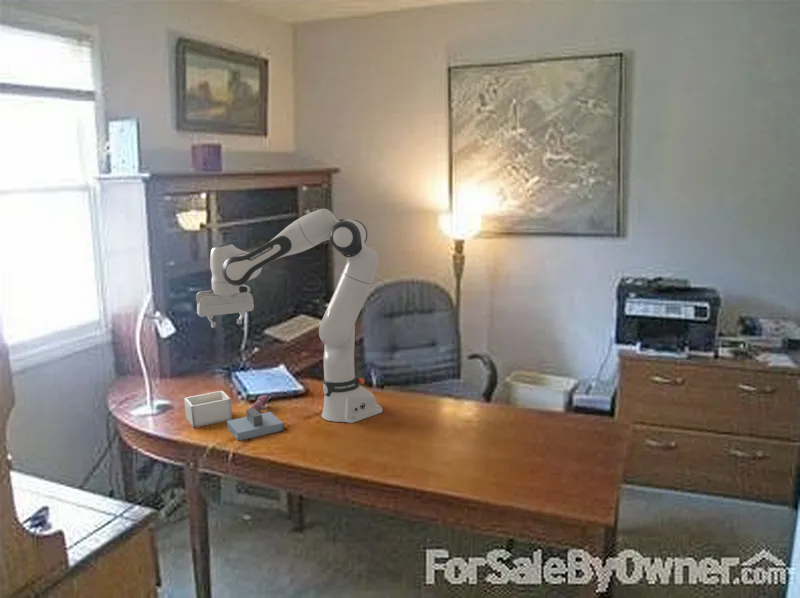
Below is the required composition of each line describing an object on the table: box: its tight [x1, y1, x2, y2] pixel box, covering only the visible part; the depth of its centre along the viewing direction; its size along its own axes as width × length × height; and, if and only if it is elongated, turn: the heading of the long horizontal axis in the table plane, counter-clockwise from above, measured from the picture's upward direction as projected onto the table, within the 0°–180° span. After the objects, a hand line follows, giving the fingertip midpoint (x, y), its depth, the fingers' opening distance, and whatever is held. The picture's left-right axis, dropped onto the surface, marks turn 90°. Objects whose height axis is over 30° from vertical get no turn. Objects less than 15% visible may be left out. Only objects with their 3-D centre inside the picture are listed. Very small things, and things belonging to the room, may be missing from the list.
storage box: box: [183, 390, 233, 429], centre depth 233 cm, size 14×11×8 cm
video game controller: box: [248, 394, 270, 413], centre depth 241 cm, size 10×5×7 cm, turn 170°
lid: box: [226, 408, 284, 442], centre depth 223 cm, size 16×13×6 cm
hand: (226, 325), depth 235 cm, fingers open, 8 cm apart
